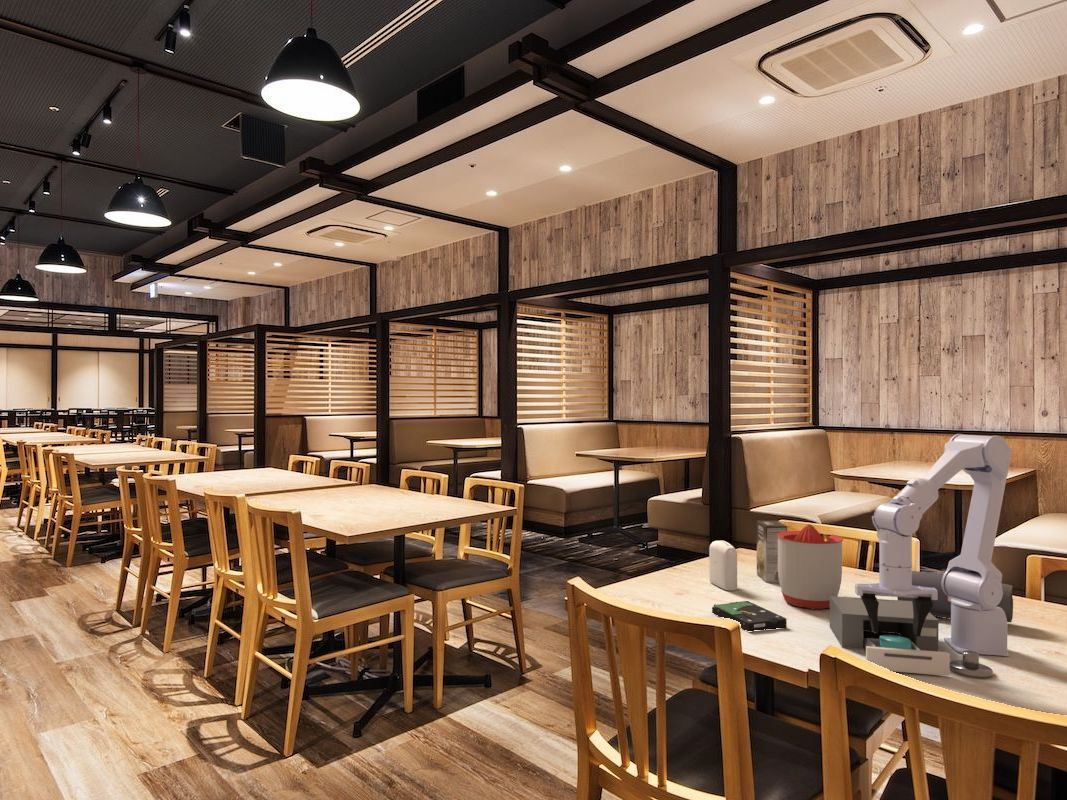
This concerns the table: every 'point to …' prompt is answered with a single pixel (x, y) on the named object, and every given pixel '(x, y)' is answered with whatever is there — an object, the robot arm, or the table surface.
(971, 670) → the spindle stand
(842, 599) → the player cabinet
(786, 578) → the citrus juicer
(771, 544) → the coffee box
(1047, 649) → the table surface
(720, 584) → the photo printer
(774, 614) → the disk drive
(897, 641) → the teal rounded disc
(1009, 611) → the bluetooth speaker
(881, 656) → the drawer
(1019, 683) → the table surface
